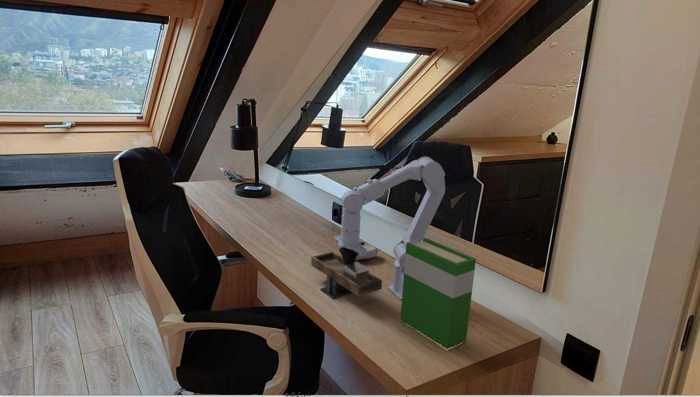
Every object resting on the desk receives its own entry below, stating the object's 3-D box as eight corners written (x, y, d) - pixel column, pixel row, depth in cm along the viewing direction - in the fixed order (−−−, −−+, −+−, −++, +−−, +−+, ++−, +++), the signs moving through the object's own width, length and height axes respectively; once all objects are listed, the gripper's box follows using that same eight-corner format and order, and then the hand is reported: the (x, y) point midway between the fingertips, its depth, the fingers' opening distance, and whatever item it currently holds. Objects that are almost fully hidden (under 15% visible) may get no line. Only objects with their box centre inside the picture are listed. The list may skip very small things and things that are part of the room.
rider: (366, 284, 144) (370, 271, 142) (353, 288, 142) (357, 275, 139) (354, 271, 149) (358, 258, 146) (341, 274, 146) (345, 261, 143)
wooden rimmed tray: (381, 288, 142) (382, 280, 141) (358, 296, 137) (359, 287, 136) (333, 259, 162) (333, 251, 161) (311, 265, 156) (311, 256, 156)
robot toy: (336, 252, 182) (353, 264, 169) (336, 241, 182) (353, 253, 168) (363, 249, 188) (382, 260, 175) (364, 238, 187) (382, 248, 174)
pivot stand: (367, 288, 152) (368, 271, 150) (332, 299, 144) (333, 281, 142) (354, 280, 157) (355, 263, 156) (320, 290, 149) (320, 273, 147)
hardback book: (400, 321, 133) (406, 242, 126) (418, 313, 137) (425, 237, 131) (447, 351, 119) (456, 265, 113) (465, 342, 124) (475, 258, 117)
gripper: (326, 224, 146) (325, 264, 150) (354, 238, 135) (352, 281, 139) (344, 221, 151) (343, 259, 154) (373, 234, 139) (370, 275, 143)
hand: (348, 269), depth 147 cm, fingers closed
